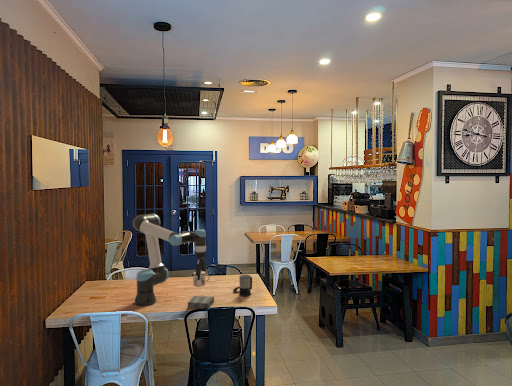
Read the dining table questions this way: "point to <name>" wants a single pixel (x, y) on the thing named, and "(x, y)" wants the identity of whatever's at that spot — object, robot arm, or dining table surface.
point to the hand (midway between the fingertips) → (201, 282)
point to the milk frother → (244, 285)
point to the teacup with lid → (201, 279)
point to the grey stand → (200, 302)
